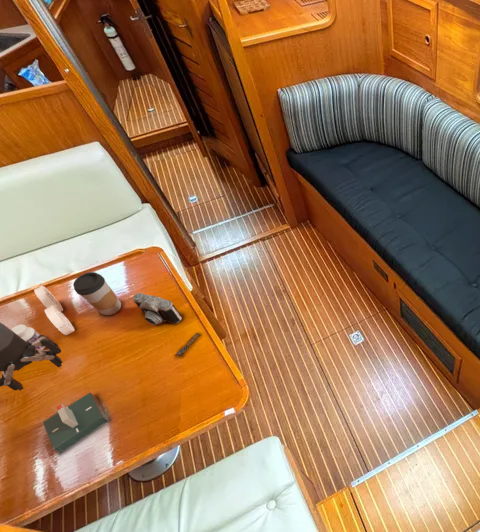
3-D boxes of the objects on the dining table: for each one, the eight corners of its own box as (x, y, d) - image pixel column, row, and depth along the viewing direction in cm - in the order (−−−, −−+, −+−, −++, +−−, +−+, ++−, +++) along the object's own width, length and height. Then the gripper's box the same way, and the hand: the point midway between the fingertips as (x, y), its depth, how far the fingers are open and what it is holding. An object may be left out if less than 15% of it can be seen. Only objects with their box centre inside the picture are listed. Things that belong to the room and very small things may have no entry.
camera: (135, 320, 133) (119, 302, 126) (149, 305, 137) (135, 287, 130) (171, 332, 130) (157, 314, 123) (184, 316, 134) (172, 298, 127)
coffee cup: (111, 296, 140) (87, 268, 129) (130, 302, 138) (106, 274, 127) (92, 314, 135) (65, 286, 124) (111, 321, 133) (85, 293, 122)
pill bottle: (31, 356, 124) (9, 340, 117) (26, 346, 126) (4, 330, 119) (50, 345, 126) (29, 329, 119) (45, 336, 129) (24, 319, 122)
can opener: (197, 333, 129) (196, 332, 129) (202, 336, 129) (201, 335, 128) (175, 355, 124) (173, 353, 123) (180, 358, 123) (178, 356, 123)
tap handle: (78, 424, 107) (67, 417, 103) (72, 428, 106) (61, 421, 103) (71, 410, 109) (61, 403, 106) (66, 414, 109) (55, 407, 105)
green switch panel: (60, 452, 105) (53, 449, 102) (49, 426, 109) (42, 421, 107) (108, 420, 111) (101, 416, 108) (95, 396, 115) (89, 391, 113)
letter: (50, 302, 138) (30, 284, 131) (57, 298, 139) (38, 280, 132) (70, 340, 128) (50, 323, 120) (78, 336, 129) (58, 318, 121)
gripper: (24, 313, 93) (66, 348, 105) (-52, 352, 86) (3, 385, 98) (33, 331, 90) (76, 366, 102) (-44, 373, 83) (11, 405, 94)
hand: (40, 375), depth 100 cm, fingers open, 8 cm apart
